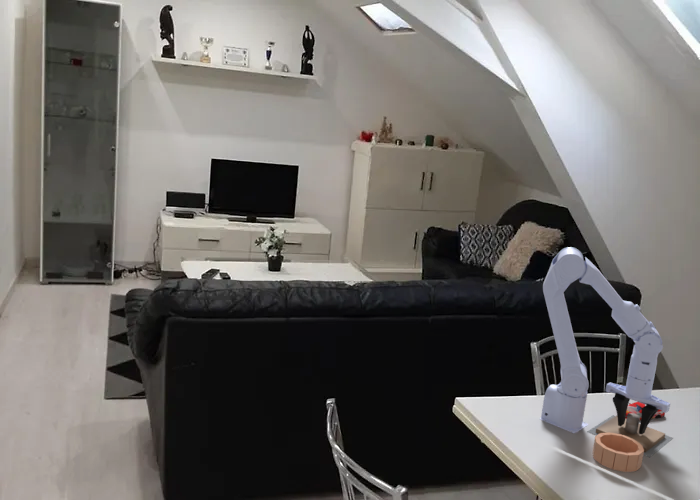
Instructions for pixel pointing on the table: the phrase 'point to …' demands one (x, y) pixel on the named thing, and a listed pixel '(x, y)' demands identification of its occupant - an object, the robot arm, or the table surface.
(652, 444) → the cover board
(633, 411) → the race car
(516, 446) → the table surface
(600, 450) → the bowl
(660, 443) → the mat
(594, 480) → the table surface
